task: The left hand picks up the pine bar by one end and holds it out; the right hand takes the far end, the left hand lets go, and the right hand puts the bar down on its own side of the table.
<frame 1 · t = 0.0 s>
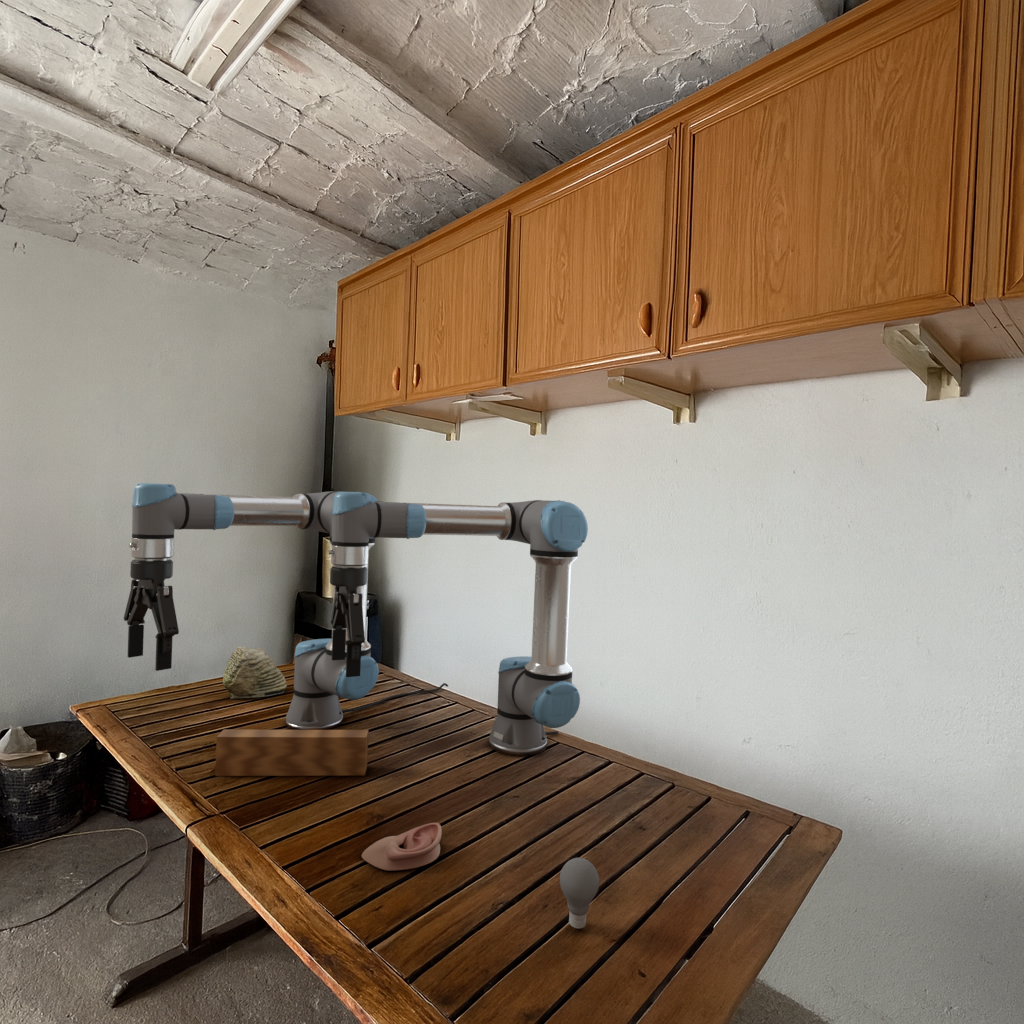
left hand: (148, 662, 129), 28 cm above the table, tool pointing down, fingers open, 13 cm apart
right hand: (345, 667, 132), 28 cm above the table, tool pointing down, fingers open, 13 cm apart
bar: (293, 771, 145), on the table
fossil: (254, 694, 198), on the table
anatomical model: (402, 854, 114), on the table
light bulb: (577, 926, 96), on the table
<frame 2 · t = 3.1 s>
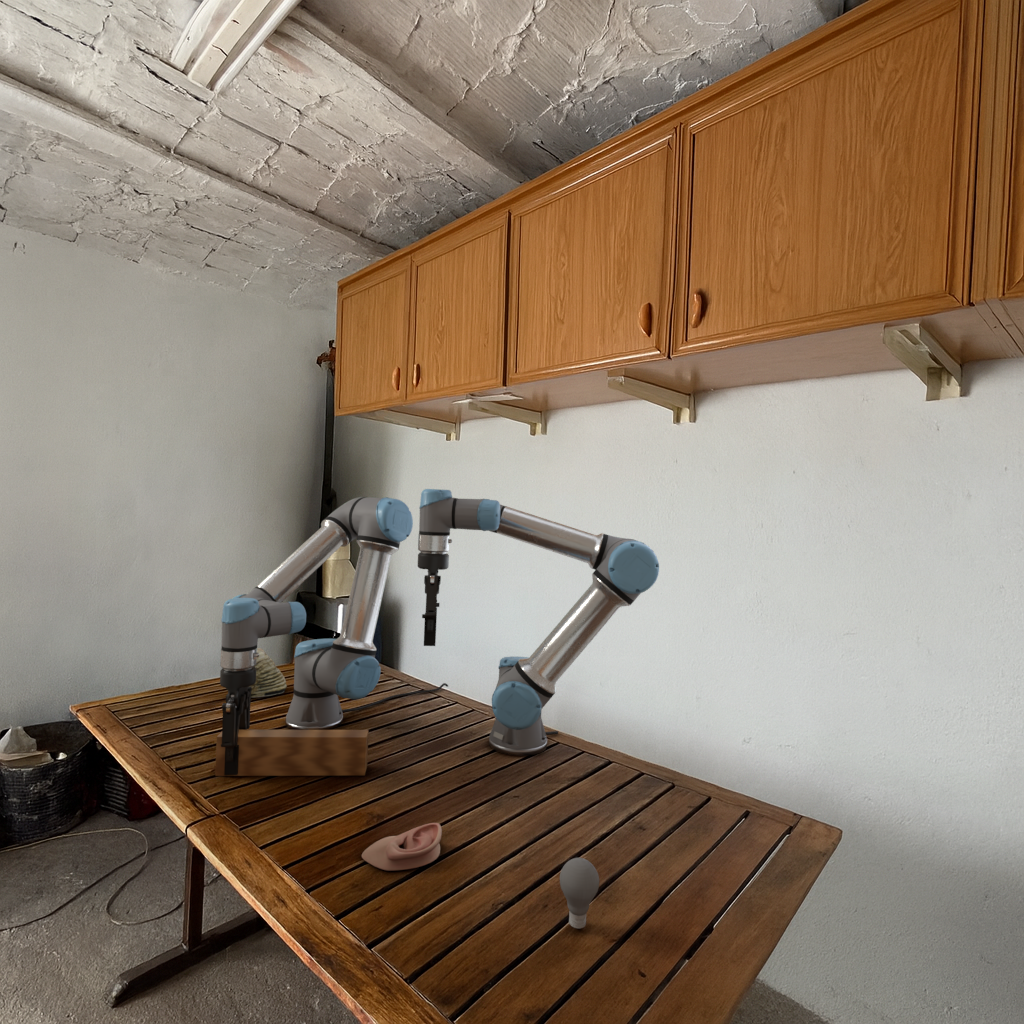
left hand: (235, 768, 144), 1 cm above the table, tool pointing down, fingers closed on bar, 5 cm apart
right hand: (430, 639, 155), 30 cm above the table, tool pointing down, fingers open, 13 cm apart
bar: (293, 771, 145), on the table, touching left hand
everything else where it was.
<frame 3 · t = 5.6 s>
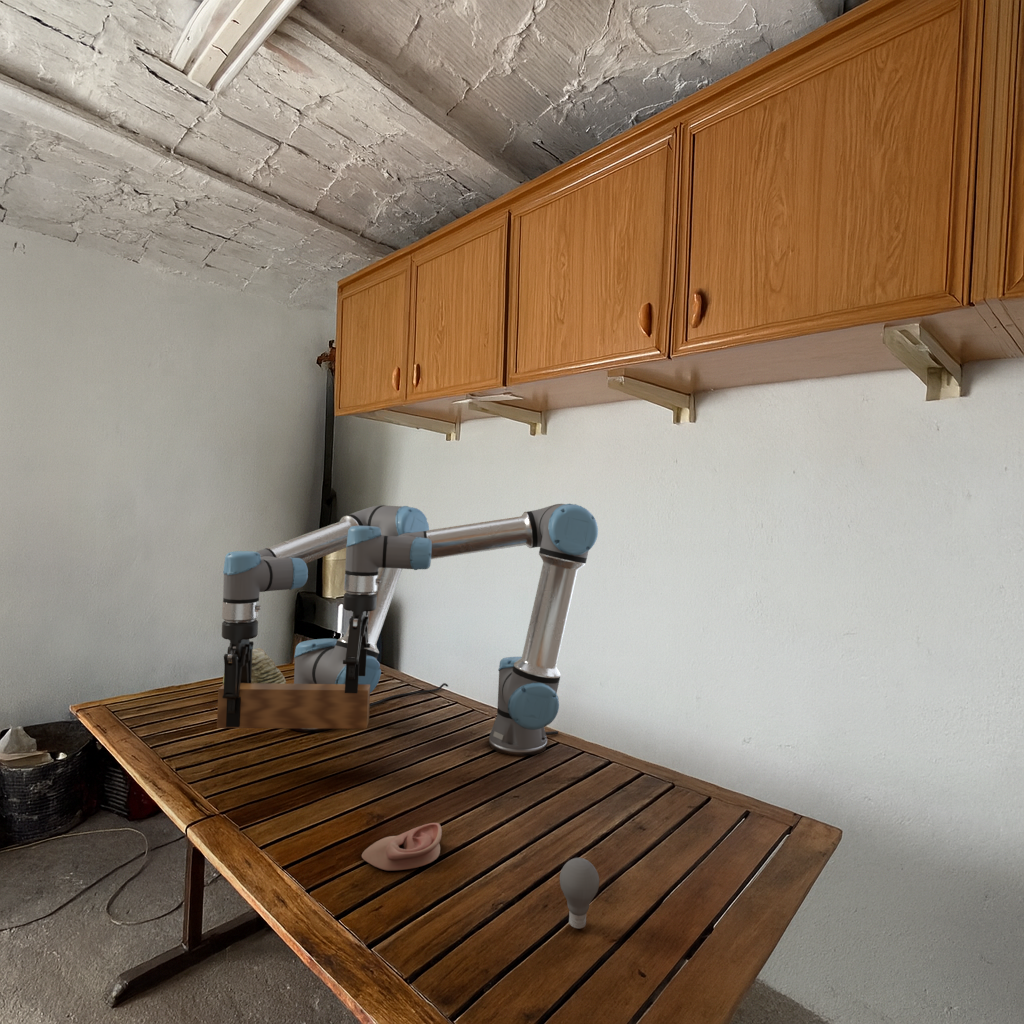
left hand: (236, 721, 144), 11 cm above the table, tool pointing down, fingers closed on bar, 5 cm apart
right hand: (355, 683, 147), 20 cm above the table, tool pointing down, fingers open, 13 cm apart
bar: (295, 724, 145), point 11 cm above the table, touching left hand
everything else where it was.
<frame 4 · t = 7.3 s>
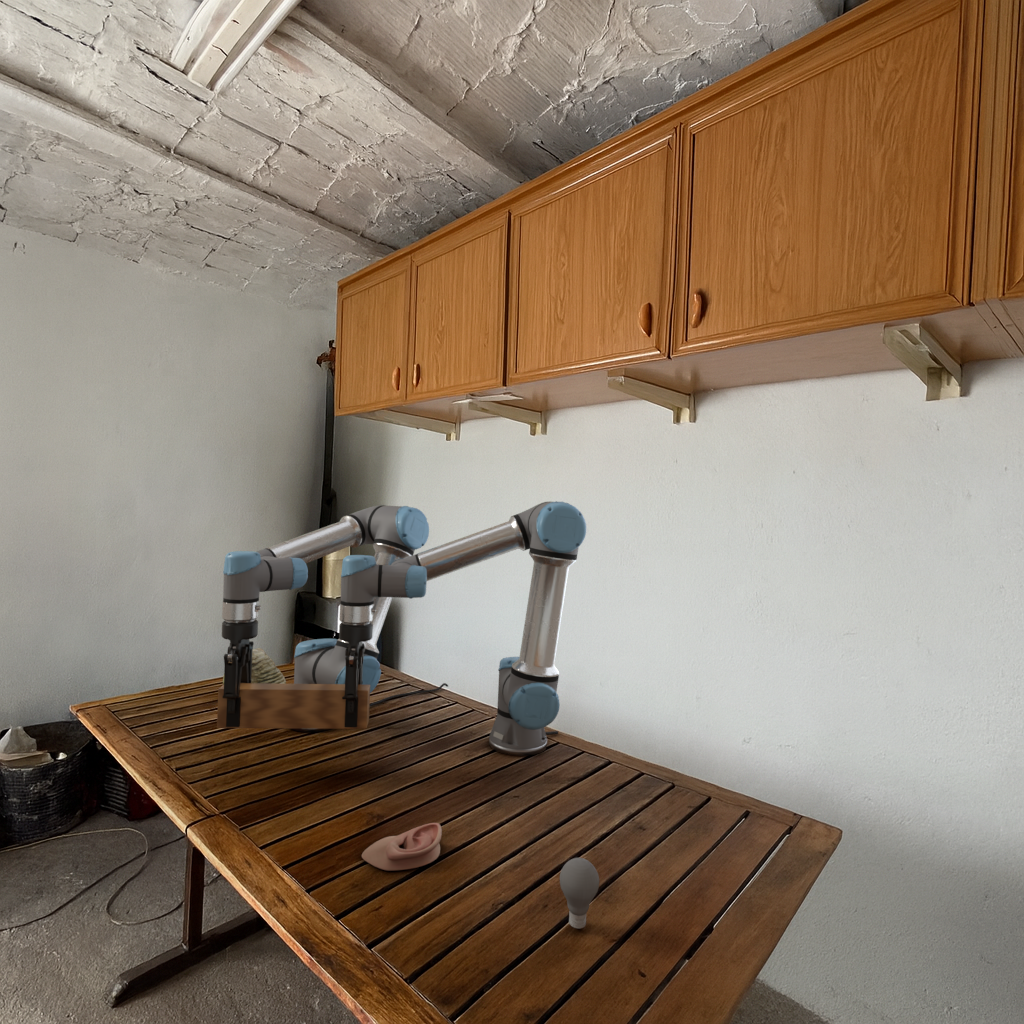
left hand: (236, 721, 144), 11 cm above the table, tool pointing down, fingers closed on bar, 5 cm apart
right hand: (352, 722, 147), 11 cm above the table, tool pointing down, fingers closed on bar, 5 cm apart
bar: (295, 724, 145), point 11 cm above the table, touching left hand, right hand
everything else where it was.
when the left hand's fingers open (11 cm above the table, at t = 7.9 s): bar stays where it is, held by the right hand.
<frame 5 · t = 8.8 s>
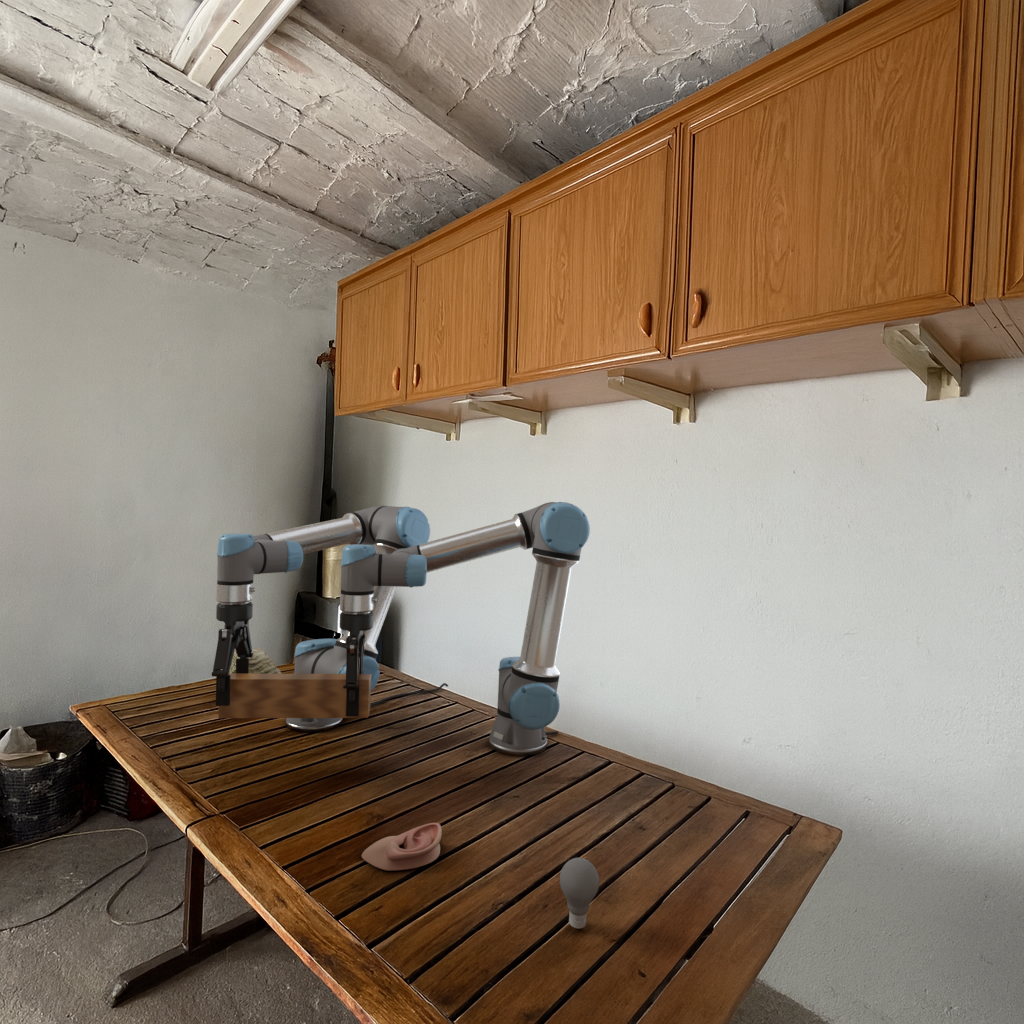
left hand: (232, 695, 144), 17 cm above the table, tool pointing down, fingers open, 13 cm apart
right hand: (353, 711, 147), 14 cm above the table, tool pointing down, fingers closed on bar, 5 cm apart
bar: (296, 714, 145), point 13 cm above the table, touching right hand
everything else where it was.
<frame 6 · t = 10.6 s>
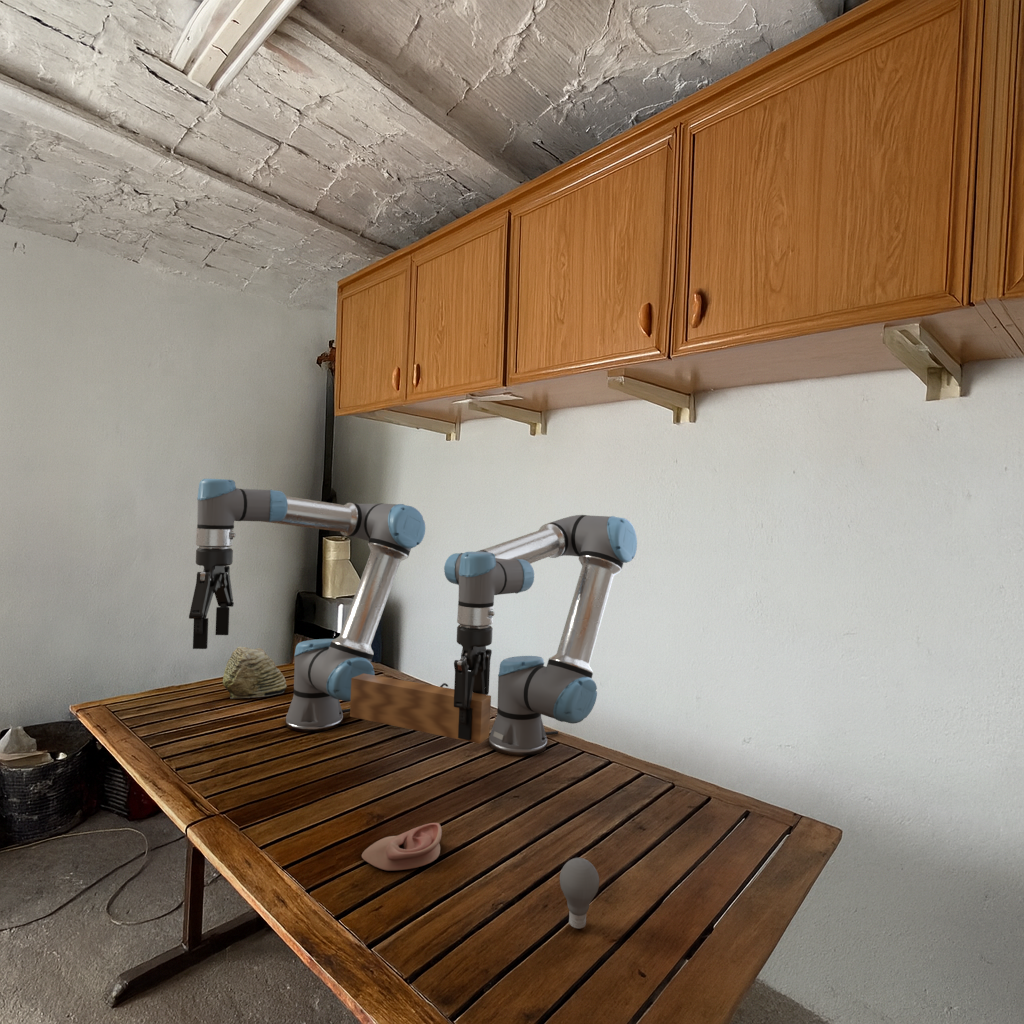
left hand: (211, 641, 143), 30 cm above the table, tool pointing down, fingers open, 13 cm apart
right hand: (470, 734, 134), 14 cm above the table, tool pointing down, fingers closed on bar, 5 cm apart
bar: (417, 726, 139), point 14 cm above the table, touching right hand
everything else where it was.
when the right hand's fingers open (2 cm above the table, at t = 14.0 s): bar drops 1 cm, on the table.
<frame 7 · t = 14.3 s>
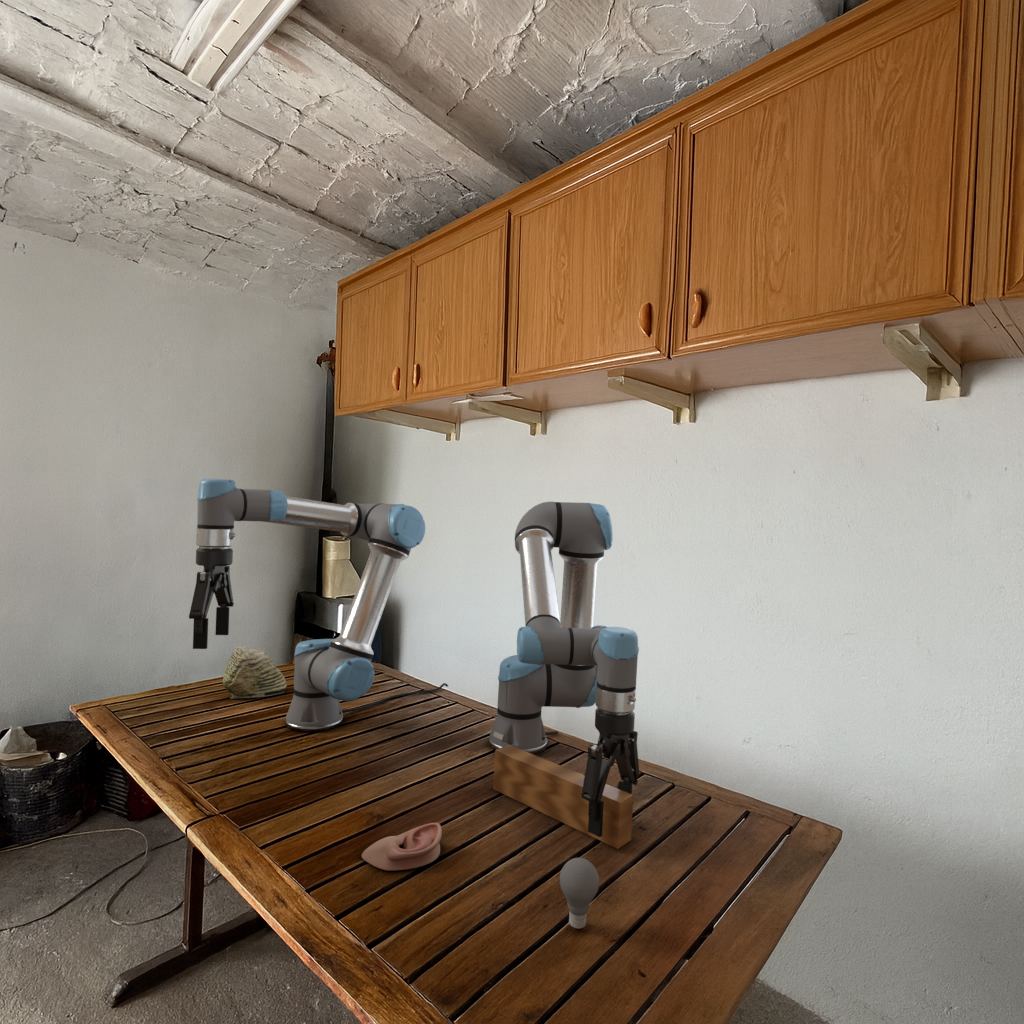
left hand: (211, 641, 143), 30 cm above the table, tool pointing down, fingers open, 13 cm apart
right hand: (609, 824, 123), 3 cm above the table, tool pointing down, fingers open, 9 cm apart
bar: (557, 812, 131), on the table
everything else where it was.
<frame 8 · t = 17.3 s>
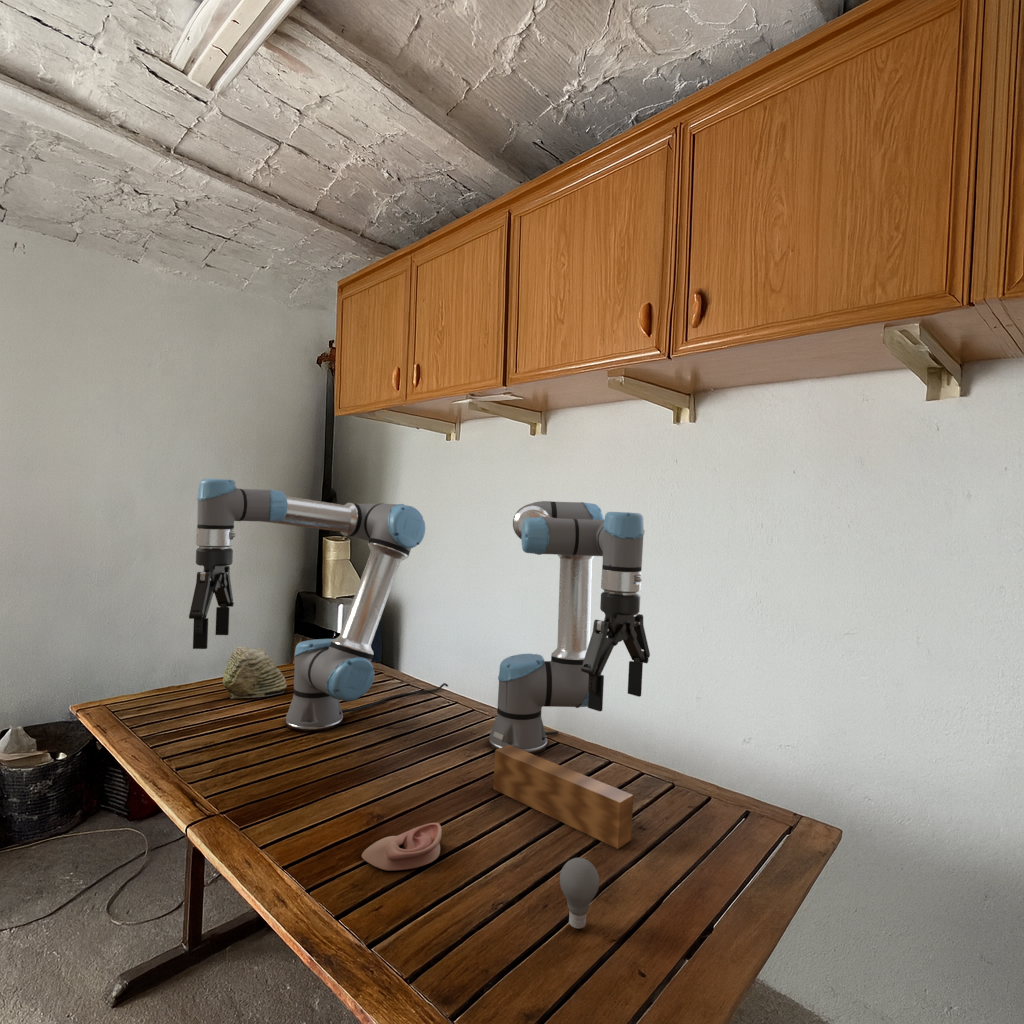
left hand: (211, 641, 143), 30 cm above the table, tool pointing down, fingers open, 13 cm apart
right hand: (615, 702, 122), 26 cm above the table, tool pointing down, fingers open, 13 cm apart
nothing on the table moved.
at the end: bar inside the target area (12.8 cm from its centre), on the table; the left hand is holding nothing; the right hand is holding nothing; bar at rest at the end (0.0 cm/s) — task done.
